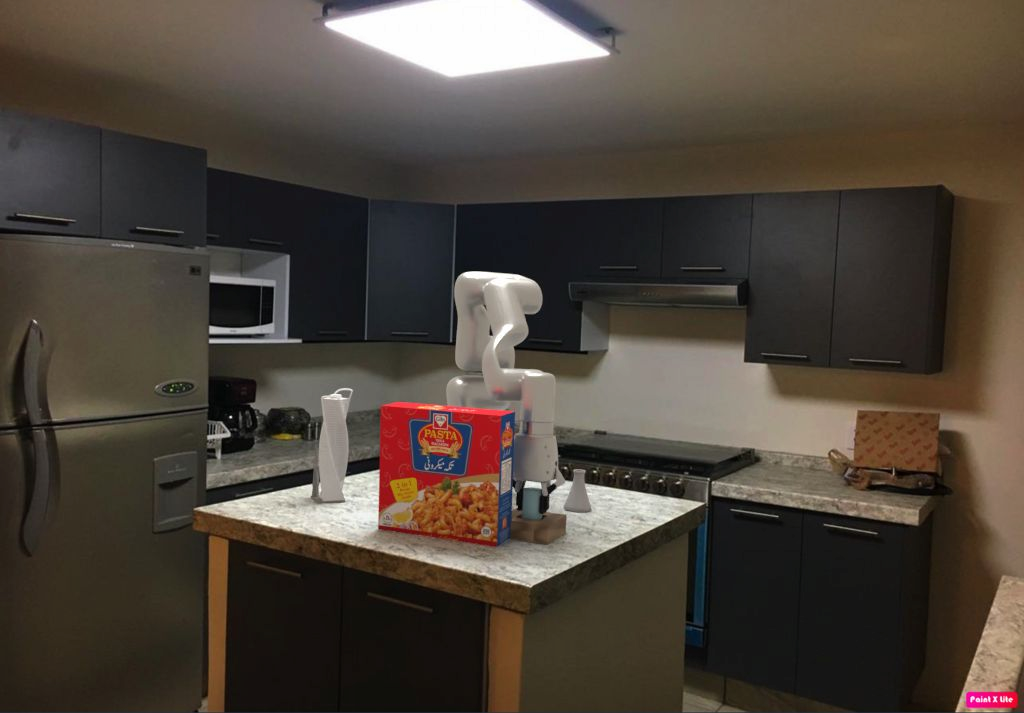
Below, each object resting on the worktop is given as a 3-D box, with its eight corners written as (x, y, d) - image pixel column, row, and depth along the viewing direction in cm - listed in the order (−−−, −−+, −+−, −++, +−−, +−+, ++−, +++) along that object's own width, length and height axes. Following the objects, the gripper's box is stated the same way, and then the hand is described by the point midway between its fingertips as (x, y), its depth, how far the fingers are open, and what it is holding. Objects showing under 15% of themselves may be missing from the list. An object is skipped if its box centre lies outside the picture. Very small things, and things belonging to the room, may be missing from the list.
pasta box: (378, 532, 184) (380, 405, 183) (395, 524, 192) (398, 401, 190) (496, 550, 174) (501, 415, 173) (510, 540, 182) (515, 411, 180)
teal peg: (517, 535, 185) (519, 489, 184) (525, 530, 189) (527, 486, 189) (536, 538, 183) (539, 492, 183) (544, 533, 187) (546, 489, 187)
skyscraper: (343, 495, 216) (348, 386, 215) (352, 502, 209) (356, 389, 208) (310, 497, 212) (314, 386, 211) (317, 504, 205) (322, 389, 204)
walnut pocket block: (495, 536, 183) (496, 518, 183) (516, 525, 194) (516, 507, 194) (547, 544, 178) (548, 525, 178) (565, 532, 189) (566, 514, 189)
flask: (590, 514, 209) (592, 473, 209) (561, 511, 211) (563, 471, 210) (593, 508, 216) (595, 469, 216) (565, 505, 218) (567, 466, 217)
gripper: (494, 426, 185) (490, 509, 186) (567, 434, 178) (562, 519, 179) (507, 423, 192) (503, 503, 192) (578, 430, 185) (574, 512, 186)
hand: (532, 510), depth 186 cm, fingers closed on teal peg, 4 cm apart
